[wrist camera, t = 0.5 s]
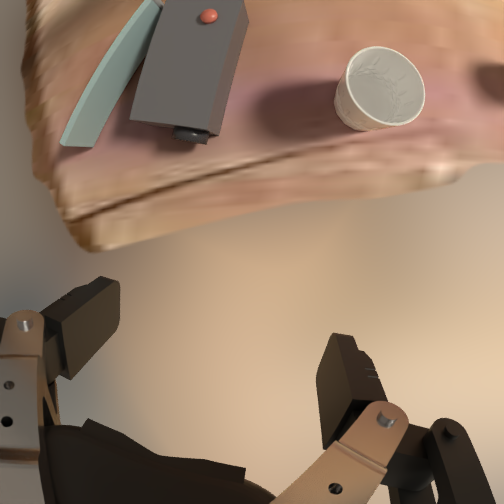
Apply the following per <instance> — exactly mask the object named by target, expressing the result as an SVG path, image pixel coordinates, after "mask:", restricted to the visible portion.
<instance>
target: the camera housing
mask: <svg viewBox="0 0 504 504" xmlns="http://www.w3.org/2000/svg"><path fill="white" fill-rule="evenodd" d="M248 24H249V20H248V16H247V12H246V8H245V4H244V0H166V2H165V5H164V7H163V10H162V12H161V15H160V18H159V20H158V23H157V26H156V29H155V31H154V34H153V37H152V40H151V43H150V46H149V49H148V52H147V55H146V59H145V62H144V65H143V69H142V72H141V75H140V79H139V83H138V86H137V90H136V94H135V98H134V102H133V106H132V110H131V114H130V119H129V120H133V121H137V122H140V123H144V124H148V125H151V126H159V127H167V128H174V131H173V135H172V139H176V140H181V141H187V142H192V143H198V144H205V145H207V142H208V137H209V134H211V135H217V136H219V133H220V129H221V125H222V121H223V116H224V112H225V108H226V104H227V100H228V96H229V92H230V88H231V85H232V81H233V77H234V73H235V69H236V66H237V62H238V59H239V55H240V51H241V48H242V44H243V41H244V37H245V34H246V30H247V27H248Z"/></svg>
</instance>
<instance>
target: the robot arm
mask: <svg viewBox="0 0 504 504" xmlns="http://www.w3.org/2000/svg"><path fill="white" fill-rule="evenodd" d="M119 320H120V284H119V282H118V281H116V280H112V279H109V278H106V277H103V276H100V277H98V278H97V279H95V280H94V281H92V282H91V283H89V284H88V285H83V286H80V287H77V288H74V289H73V290H71V291H70V292H69V293H67V295H64V296H63V297H61V298H60V299H58V300H57V301H55V302H54V303H52V304H51V305H49V306H48V307H46V308H45V309H44V310H42V311H41V312H39V313H38V312H36V311H32V310H21V311H17V312H15V313H13V314H11V315H10V316H9V317H8V318H7V319H5V318H1V317H0V504H367V502H368V501H369V499H370V498H371V496H372V495H373V493H374V491H375V490H376V488H377V487H378V485H379V484H382V485H387V486H388V489H389V496H390V502H391V504H436V502H435V498H434V494H433V490H432V486H431V482H432V481H433V480H435V484H436V487H437V491H438V502H437V504H496V502H495V500H494V497H493V494H492V491H491V489H490V486H489V483H488V481H487V478H486V476H485V473H484V471H483V468H482V466H481V464H480V461H479V459H478V456H477V454H476V452H475V449H474V447H473V445H472V443H471V440H470V438H469V436H468V434H467V432H466V430H465V429H464V427H462V425H460V424H459V423H458V422H456V421H454V420H452V419H448V418H440V419H437V420H436V421H435V422H434V423H433V425H432V426H431V427H430V429H428V428H424V427H420V426H416V425H413V424H409V421H408V417H407V415H406V413H405V412H404V411H403V410H402V409H401V408H400V407H398V406H396V405H395V404H393V403H390V402H388V400H387V397H386V395H385V392H384V390H383V387H382V384H381V382H380V379H378V374H377V372H376V371H375V366H374V364H373V362H372V359H370V357H369V356H368V355H367V354H366V353H365V352H364V351H360V350H358V347H357V345H356V342H355V340H354V338H353V336H350V335H344V334H338V333H332V335H331V336H330V339H329V341H328V344H327V346H326V349H325V352H324V354H323V357H322V359H321V362H320V364H319V367H318V371H317V375H316V387H317V395H318V404H319V413H320V423H321V432H322V443H323V449H324V450H326V451H325V452H324V453H323V454H322V455H321V456H320V457H319V458H318V459H317V460H316V461H315V462H314V463H313V464H312V465H311V466H310V467H309V468H308V469H307V470H306V471H305V472H304V473H303V474H302V475H301V476H300V477H299V478H298V479H297V480H296V481H294V483H292V484H291V485H290V486H289V487H288V488H287V489H286V490H285V491H283V492H282V493H281V494H280V495H279V496H278V497H275V496H274V495H273V494H271V493H270V492H269V491H267V490H266V489H264V488H262V487H261V486H259V485H257V484H255V483H253V482H251V481H248V480H246V479H244V478H245V471H246V468H243V467H238V466H232V465H227V464H223V463H218V462H214V461H209V460H205V459H191V458H179V457H168V456H161V455H157V454H155V453H153V452H151V451H150V450H148V449H146V448H145V447H143V446H142V445H140V444H138V443H137V442H135V441H134V440H132V439H130V438H129V437H127V436H126V435H124V434H123V433H121V432H118V431H116V430H113V429H111V428H109V427H106V426H104V425H102V424H99V423H97V422H95V421H93V420H91V419H89V418H88V419H87V420H86V421H85V423H84V424H83V426H82V427H79V426H71V425H61V422H60V414H59V404H58V394H57V383H56V377H57V376H58V375H61V376H63V377H65V378H67V379H69V380H72V378H73V377H74V376H75V375H76V374H77V373H78V372H79V371H80V370H81V369H82V367H83V366H84V365H85V364H86V363H87V362H88V361H89V360H90V359H91V357H92V356H93V355H94V354H95V353H96V352H97V351H98V350H99V349H100V348H101V347H102V346H103V344H104V343H105V342H106V341H107V340H108V339H109V338H110V337H111V336H112V335H113V334H114V333H115V331H116V330H117V328H118V325H119Z"/></svg>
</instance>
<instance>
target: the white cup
mask: <svg viewBox="0 0 504 504" xmlns="http://www.w3.org/2000/svg"><path fill="white" fill-rule="evenodd" d="M424 102H425V88H424V83H423V80H422V78H421V76H420V74H419V72H418V70H417V69H416V67H415V66H414V65H413V64H412V63H411V62H410V61H409V60H408V59H407V58H406V57H405V56H403V55H402V54H400V53H399V52H397V51H395V50H392V49H390V48H386V47H379V46H374V47H368V48H364V49H362V50H360V51H358V52H357V53H356V54H355V55H353V57H352V58H351V59H350V61H349V63H348V65H347V67H346V69H345V71H344V73H343V75H342V77H341V79H340V81H339V84H338V86H337V89H336V93H335V97H334V106H335V110H336V114H337V115H338V116H339V118H340V119H341V120H342V122H343V123H344V124H346V125H347V126H349V127H351V128H352V129H354V130H359V131H371V130H380V129H386V128H390V127H395V126H399V125H404V124H407V123H409V122H411V121H412V120H414V119H415V118H416V117H417V116H418V115H419V114H420V112H421V110H422V108H423V105H424Z"/></svg>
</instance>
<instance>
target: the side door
mask: <svg viewBox="0 0 504 504" xmlns="http://www.w3.org/2000/svg"><path fill="white" fill-rule="evenodd" d="M163 7H164V3H163V2H162V1H161V0H144V2H143V3H142V4H141V5H140V7H139V8H138V9H137V11H136V12H135V13H134V14H133V16H132V17H131V18H130V20H129V21H128V22H127V24H126V25H125V27H124V28H123V29H122V31H121V32H120V34H119V35H118V36H117V38H116V39H115V41H114V42H113V44H112V45H111V47H110V48H109V50H108V51H107V53H106V55H105V56H104V58H103V59H102V61H101V63H100V64H99V66H98V68H97V69H96V71H95V73H94V74H93V76H92V78H91V80H90V81H89V83H88V85H87V87H86V89H85V90H84V92H83V94H82V96H81V98H80V100H79V102H78V104H77V106H76V108H75V110H74V112H73V114H72V116H71V118H70V120H69V122H68V124H67V126H66V129H65V131H64V133H63V135H62V138H61V140H60V142H59V143H61V144H62V145H63V146H79V147H94V145H95V143H96V141H97V138H98V136H99V134H100V132H101V130H102V128H103V127H104V125H105V123H106V121H107V119H108V117H109V115H110V113H111V111H112V110H113V108H114V106H115V104H116V102H117V101H118V99H119V97H120V95H121V94H122V92H123V90H124V89H125V87H126V85H127V84H128V82H129V80H130V79H131V77H132V76H133V74H134V72H135V71H136V69H137V68H138V66H139V65H140V63H141V62H142V60H143V59H144V57H145V56H146V54H147V52H148V49H149V46H150V43H151V40H152V37H153V34H154V31H155V29H156V26H157V23H158V20H159V18H160V15H161V12H162V10H163Z"/></svg>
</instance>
